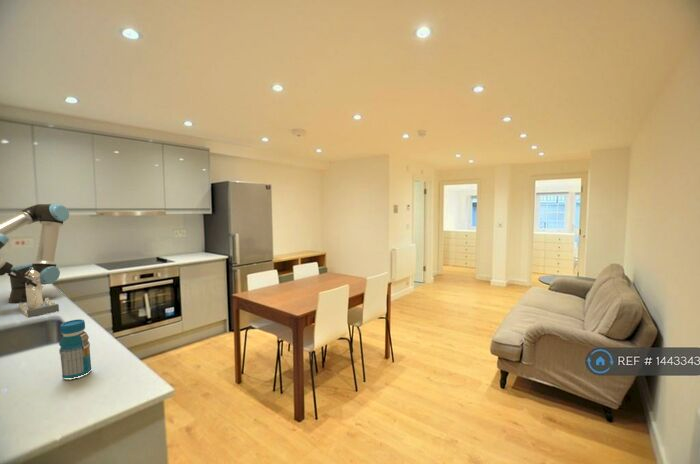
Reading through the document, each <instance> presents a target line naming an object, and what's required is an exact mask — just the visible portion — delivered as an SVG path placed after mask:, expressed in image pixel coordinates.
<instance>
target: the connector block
mask: <svg viewBox="0 0 700 464" xmlns="http://www.w3.org/2000/svg"><path fill="white" fill-rule="evenodd" d="M59 306H60V305H59V304H58V303H55V304H54V305H49V306H47V305H43V307H39V308H34V309H28V310H27V314H28V317H27V318H33V317H37V316H42V315H48V314H52V313H57V312H59V311H60V307H59ZM56 311H57V312H56ZM51 312H52V313H51ZM47 313H48V314H47Z"/></svg>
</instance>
